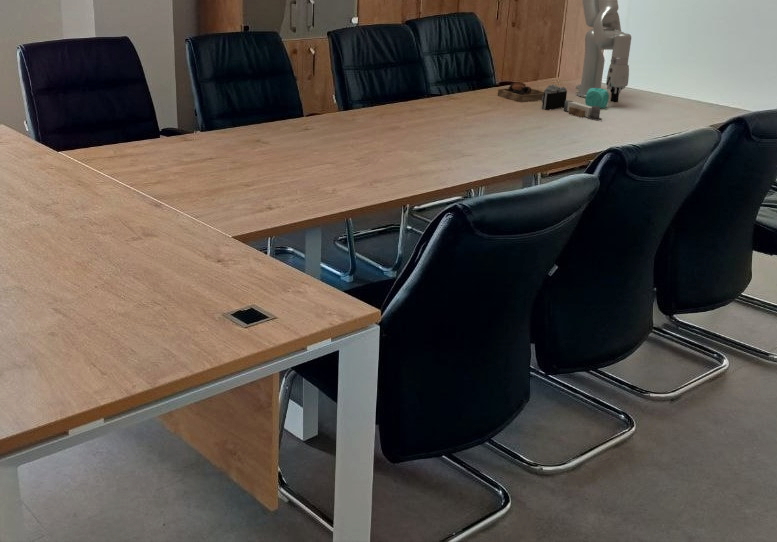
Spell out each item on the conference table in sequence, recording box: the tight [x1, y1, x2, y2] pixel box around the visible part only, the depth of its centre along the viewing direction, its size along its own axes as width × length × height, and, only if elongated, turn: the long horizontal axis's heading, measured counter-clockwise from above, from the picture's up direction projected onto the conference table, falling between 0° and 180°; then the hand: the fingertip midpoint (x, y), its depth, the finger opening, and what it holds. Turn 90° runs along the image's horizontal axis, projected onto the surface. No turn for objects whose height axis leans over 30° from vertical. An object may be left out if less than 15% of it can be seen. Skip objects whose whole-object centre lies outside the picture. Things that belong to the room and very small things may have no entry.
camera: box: [541, 84, 568, 111], centre depth 406 cm, size 15×7×10 cm, turn 134°
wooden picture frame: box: [497, 87, 544, 103], centre depth 425 cm, size 16×18×3 cm
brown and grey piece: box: [568, 106, 603, 121], centre depth 391 cm, size 15×7×5 cm, turn 33°
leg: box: [563, 99, 592, 118], centre depth 396 cm, size 16×4×4 cm, turn 32°
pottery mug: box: [508, 81, 532, 95], centre depth 423 cm, size 12×10×8 cm
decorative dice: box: [584, 87, 610, 110], centre depth 412 cm, size 8×8×8 cm
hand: (613, 101), depth 419 cm, fingers closed
